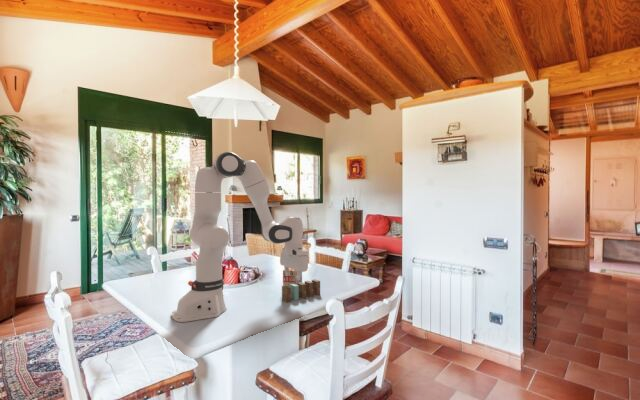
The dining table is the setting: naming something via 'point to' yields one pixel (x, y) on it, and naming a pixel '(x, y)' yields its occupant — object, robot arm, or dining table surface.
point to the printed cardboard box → (290, 277)
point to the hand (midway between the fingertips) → (292, 277)
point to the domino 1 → (286, 294)
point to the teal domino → (294, 292)
